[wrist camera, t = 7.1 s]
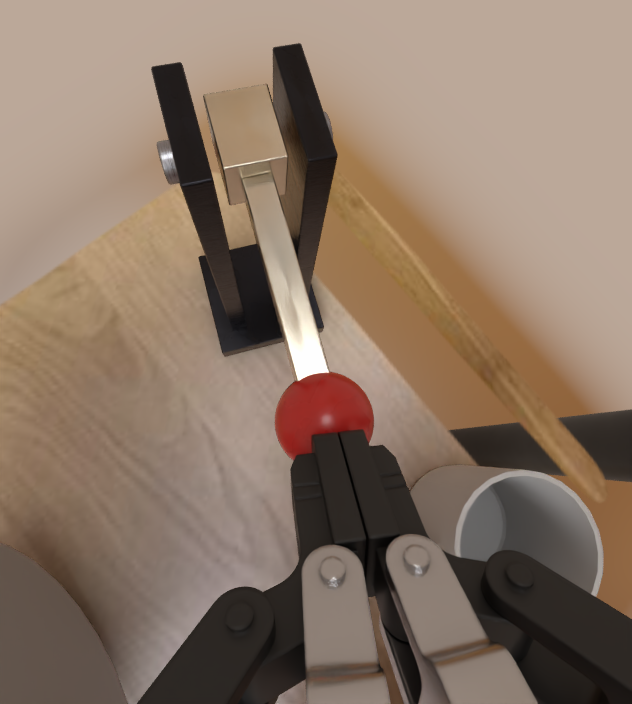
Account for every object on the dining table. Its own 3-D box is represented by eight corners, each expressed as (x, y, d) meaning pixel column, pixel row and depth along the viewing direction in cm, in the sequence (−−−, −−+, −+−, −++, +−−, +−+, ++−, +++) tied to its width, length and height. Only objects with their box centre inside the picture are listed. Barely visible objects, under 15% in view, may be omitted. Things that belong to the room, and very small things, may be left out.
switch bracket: (322, 331, 31) (380, 185, 14) (224, 356, 30) (155, 232, 13) (295, 242, 33) (318, 6, 15) (201, 263, 32) (110, 37, 14)
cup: (521, 563, 29) (625, 612, 20) (375, 604, 28) (420, 675, 19) (488, 453, 30) (573, 454, 22) (348, 487, 29) (379, 503, 20)
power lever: (373, 453, 16) (398, 458, 13) (287, 478, 16) (291, 490, 12) (279, 134, 18) (281, 71, 15) (200, 149, 17) (185, 87, 14)
